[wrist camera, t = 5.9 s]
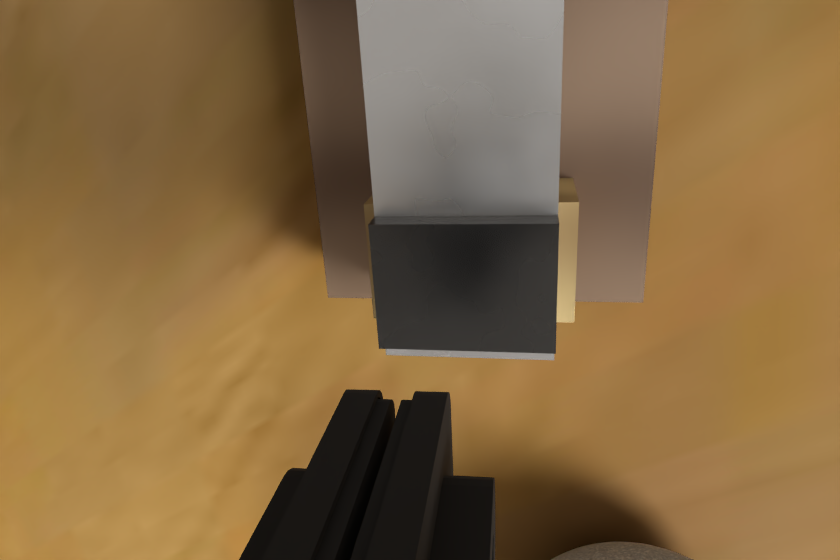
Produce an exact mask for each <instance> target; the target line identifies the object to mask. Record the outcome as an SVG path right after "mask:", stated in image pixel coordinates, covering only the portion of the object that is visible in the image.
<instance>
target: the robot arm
mask: <svg viewBox="0 0 840 560" xmlns="http://www.w3.org/2000/svg"><path fill="white" fill-rule="evenodd" d="M239 560H495V479H494V478H492V477H471V476H453V456H452V429H451V403H450V394H449V392H420V391H416V392H415V393H414V396H413V399H412V400H402V401H401V403H400V406H399V409H398V412H397V416H396V419H395V408H394V402H393V400H388V399H383V396H382V393H381V391H380V390H346V391H345V392H344V394H343V396H342V398H341V400H340V402H339V404H338V406H337V408H336V410H335V412H334V414H333V416H332V418H331V420H330V422H329V424H328V426H327V429H326V431H325V433H324V435H323V437H322V439H321V441H320V443H319V445H318V447H317V449H316V451H315V453H314V455H313V457H312V459H311V461H310V463H309V465H308V467H307V469H302V468H292V469H290V470H288V471H287V473H286V474H285V475H284V477H283V479H282V481H281V483H280V484H279V486H278V488H277V490H276V492H275V494H274V496H273V497H272V499H271V501H270V503H269V505H268V507H267V509H266V510H265V512H264V514H263V516H262V518H261V520H260V522H259V523H258V525H257V527H256V529H255V531H254V533H253V535H252V536H251V538H250V540H249V542H248V544H247V546H246V548H245V550H244V551H243V553H242V555H241V557H240V559H239Z"/></svg>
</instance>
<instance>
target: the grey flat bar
mask: <svg viewBox="0 0 840 560" xmlns="http://www.w3.org/2000/svg"><path fill="white" fill-rule="evenodd" d="M356 6H357V18H358V30H359V41H360V53H361V65H362V77H363V88H364V100H365V112H366V124H367V135H368V147H369V159H370V171H371V182H372V194H373V206H374V218H373V219H372V220H371V221H370V223H369V224H368V230H369V241H370V252H371V263H372V274H373V285H374V297H375V308H376V319H377V330H378V341H379V349H386V355H404V356H436V357H469V358H501V359H533V360H554V354H556V320H557V285H558V251H559V218H558V203H559V168H560V132H561V97H562V61H563V25H564V0H356Z"/></svg>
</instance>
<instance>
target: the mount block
mask: <svg viewBox="0 0 840 560" xmlns="http://www.w3.org/2000/svg"><path fill="white" fill-rule="evenodd" d="M293 1H294V9H295V18H296V26H297V35H298V43H299V52H300V61H301V69H302V78H303V86H304V95H305V103H306V112H307V120H308V129H309V137H310V146H311V154H312V163H313V171H314V180H315V189H316V197H317V206H318V214H319V223H320V231H321V240H322V248H323V257H324V265H325V274H326V282H327V291H328V297H329V298H372V304H373V315H374V318H376V308H375V297H374V285H373V274H372V263H371V252H370V241H369V230H368V224H369V223H370V221H371V220H372V219H373V218H374V206H373V194H372V182H371V171H370V159H369V147H368V135H367V124H366V112H365V100H364V88H363V77H362V65H361V53H360V41H359V30H358V18H357V6H356V0H293ZM667 10H668V0H564V25H563V61H562V97H561V132H560V168H559V203H558V218H559V251H558V285H557V320H556V322H574V318H575V301H584V302H643V297H644V285H645V273H646V261H647V249H648V237H649V225H650V213H651V201H652V189H653V177H654V165H655V153H656V141H657V130H658V118H659V106H660V94H661V82H662V70H663V58H664V46H665V34H666V22H667Z"/></svg>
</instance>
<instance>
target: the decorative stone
mask: <svg viewBox="0 0 840 560" xmlns="http://www.w3.org/2000/svg"><path fill="white" fill-rule="evenodd" d="M551 560H693V559H691V558H688V557H686V556H684V555H681V554H679V553H676V552H673V551H671V550H668V549H664V548H661V547H657V546H653V545H649V544H643V543H634V542H603V543H595V544H590V545H586V546H582V547H578V548H575V549H573V550H570V551H567V552H565V553H563V554H560V555H558V556H556V557H554V558H553V559H551Z"/></svg>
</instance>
